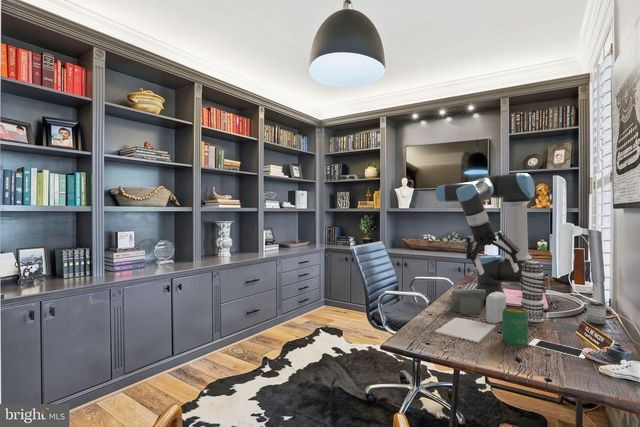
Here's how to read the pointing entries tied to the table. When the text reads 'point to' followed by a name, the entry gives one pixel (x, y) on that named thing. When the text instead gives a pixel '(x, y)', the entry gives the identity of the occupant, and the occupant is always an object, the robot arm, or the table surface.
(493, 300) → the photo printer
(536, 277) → the tower model
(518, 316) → the beverage can
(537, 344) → the cell phone
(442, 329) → the desk mat
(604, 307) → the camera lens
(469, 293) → the grey translucent bin
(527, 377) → the table surface
